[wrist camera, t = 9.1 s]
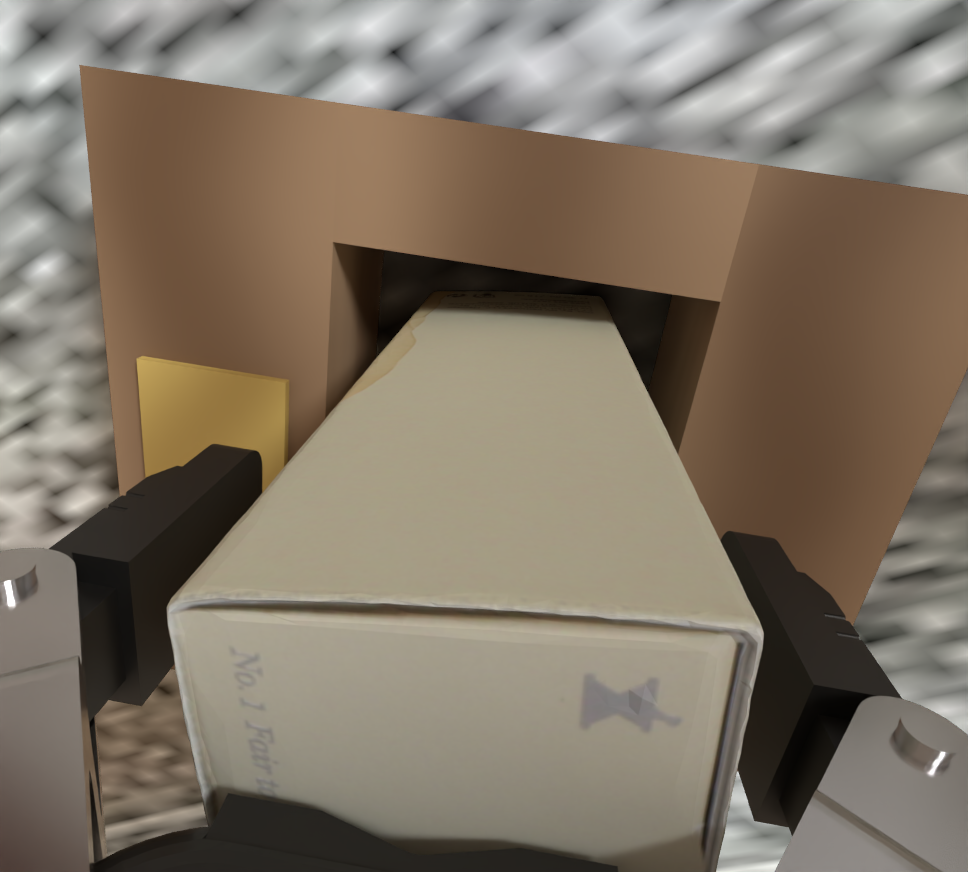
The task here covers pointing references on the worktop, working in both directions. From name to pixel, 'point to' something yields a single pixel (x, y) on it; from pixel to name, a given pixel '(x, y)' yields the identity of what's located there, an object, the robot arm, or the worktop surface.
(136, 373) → the brown square frame block
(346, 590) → the skincare box
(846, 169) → the worktop surface
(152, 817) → the worktop surface
